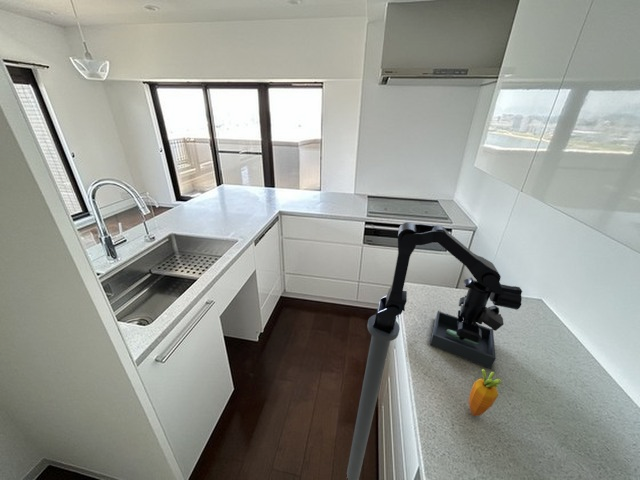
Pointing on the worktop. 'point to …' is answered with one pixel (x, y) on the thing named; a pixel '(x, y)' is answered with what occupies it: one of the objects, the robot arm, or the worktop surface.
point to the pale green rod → (453, 334)
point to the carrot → (483, 394)
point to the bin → (474, 353)
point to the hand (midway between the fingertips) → (461, 336)
